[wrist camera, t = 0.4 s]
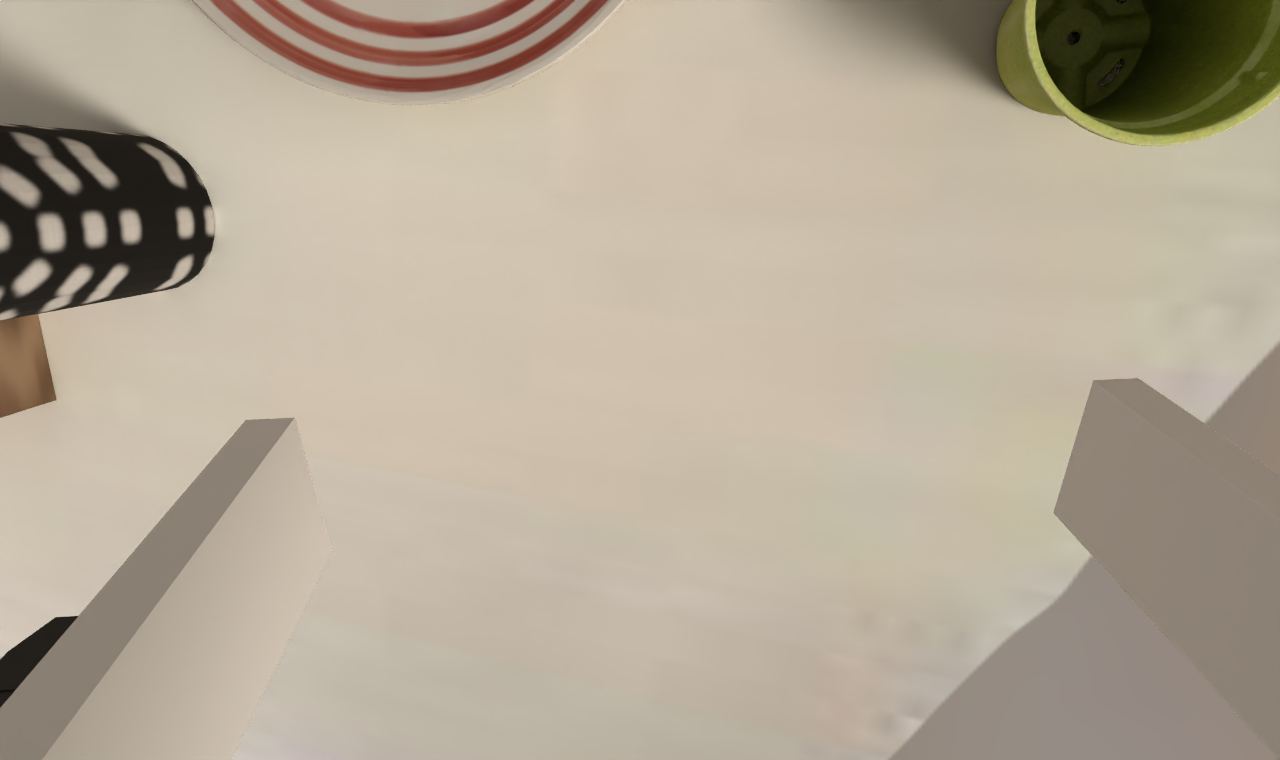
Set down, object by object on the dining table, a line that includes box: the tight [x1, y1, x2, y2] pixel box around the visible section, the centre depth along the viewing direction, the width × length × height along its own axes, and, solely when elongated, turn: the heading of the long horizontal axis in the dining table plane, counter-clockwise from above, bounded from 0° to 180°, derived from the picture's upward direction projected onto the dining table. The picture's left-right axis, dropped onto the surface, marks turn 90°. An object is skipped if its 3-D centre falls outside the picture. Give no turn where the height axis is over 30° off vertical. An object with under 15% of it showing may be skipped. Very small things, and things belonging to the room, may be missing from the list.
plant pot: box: [996, 0, 1280, 146], centre depth 27 cm, size 9×9×9 cm
